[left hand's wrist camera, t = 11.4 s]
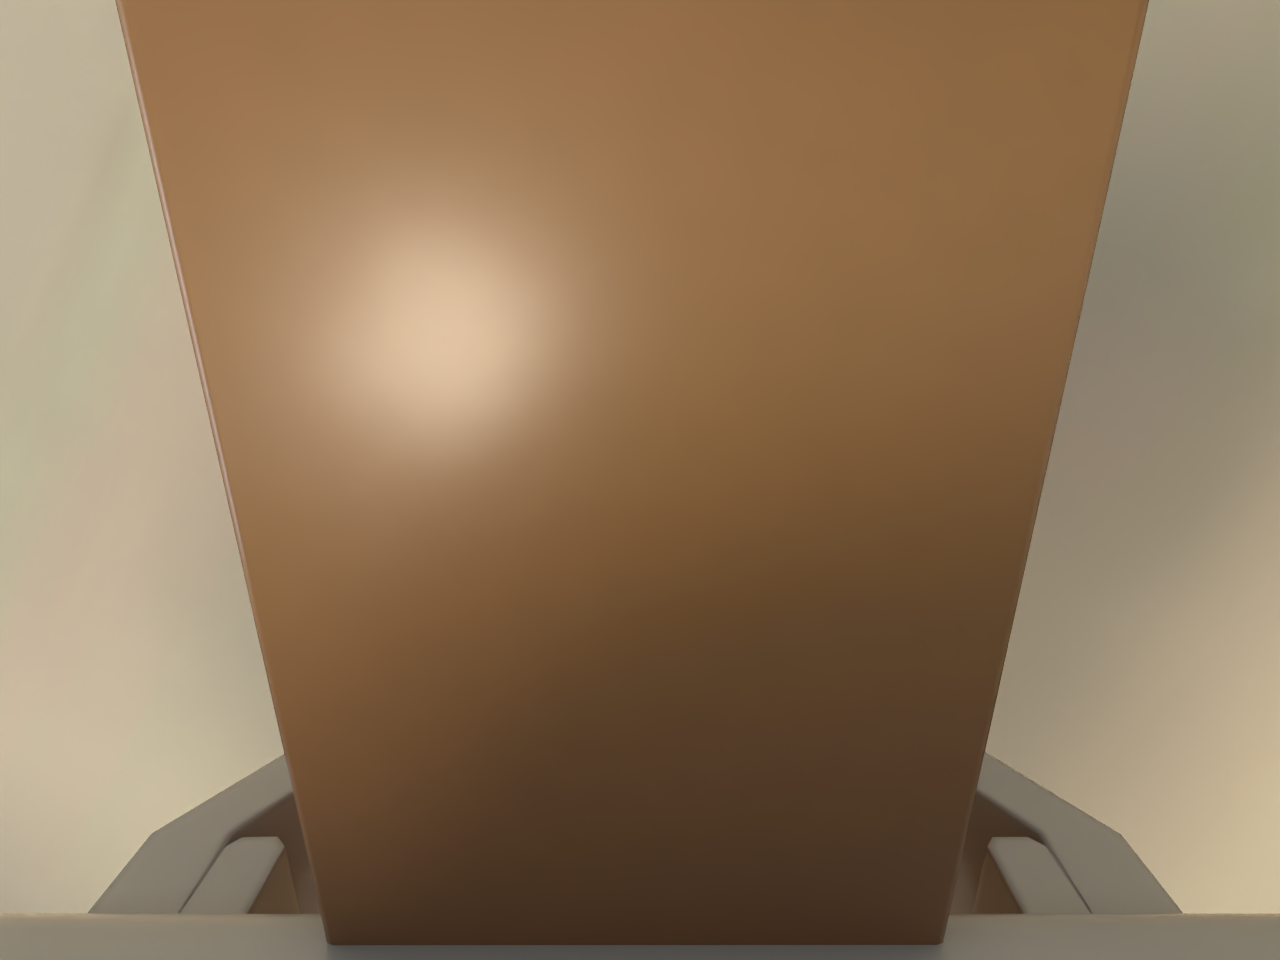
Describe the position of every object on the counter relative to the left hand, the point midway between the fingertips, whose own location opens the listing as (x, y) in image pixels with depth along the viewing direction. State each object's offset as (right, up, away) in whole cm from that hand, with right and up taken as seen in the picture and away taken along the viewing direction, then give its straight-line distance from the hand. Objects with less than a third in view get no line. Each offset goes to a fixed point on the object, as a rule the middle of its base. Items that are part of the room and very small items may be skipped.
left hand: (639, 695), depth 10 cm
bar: (0, +11, -1) cm, 11 cm away
